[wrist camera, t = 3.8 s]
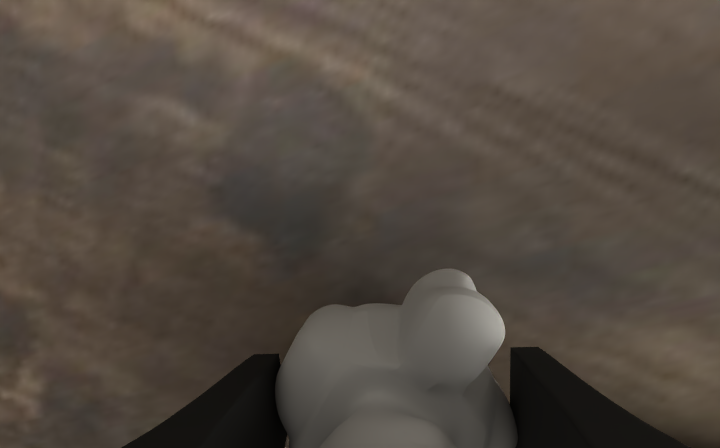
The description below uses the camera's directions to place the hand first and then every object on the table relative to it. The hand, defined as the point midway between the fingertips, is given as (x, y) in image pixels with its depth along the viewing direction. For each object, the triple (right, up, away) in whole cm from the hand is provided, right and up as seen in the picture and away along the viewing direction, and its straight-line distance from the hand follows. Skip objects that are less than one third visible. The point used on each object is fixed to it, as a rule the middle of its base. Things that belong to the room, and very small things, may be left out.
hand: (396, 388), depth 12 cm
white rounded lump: (0, +1, +2) cm, 2 cm away
